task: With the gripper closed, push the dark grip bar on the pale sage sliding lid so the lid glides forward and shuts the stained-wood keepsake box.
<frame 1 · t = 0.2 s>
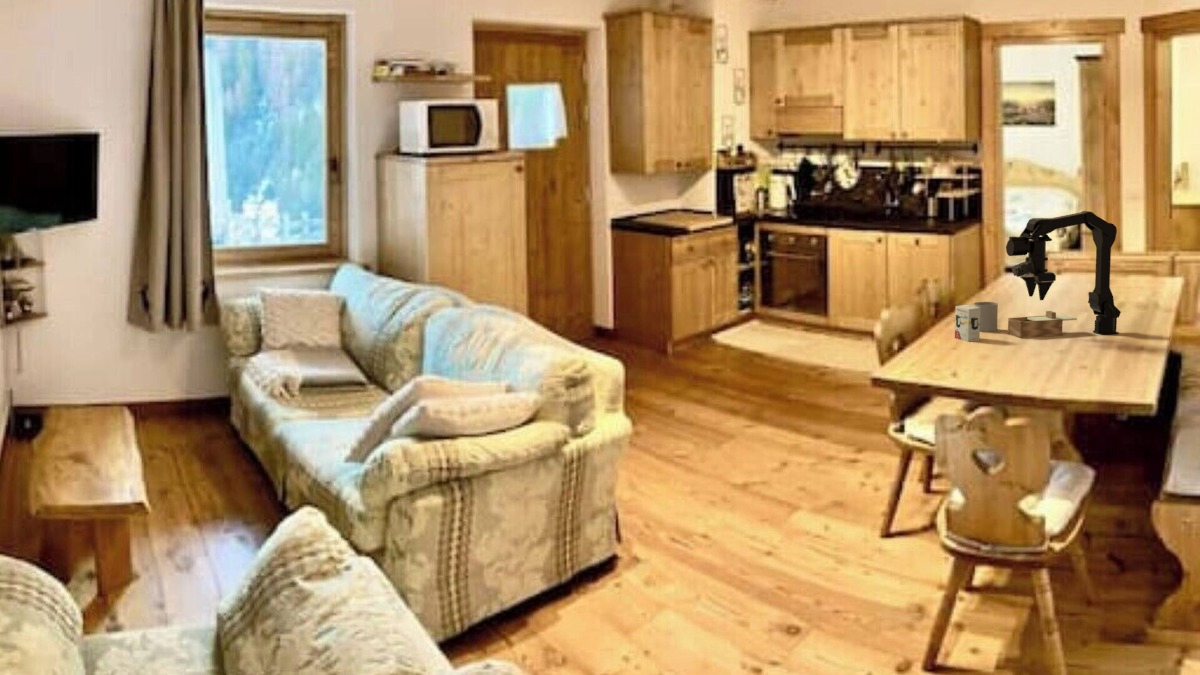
hand: (1036, 298, 426), 14 cm above the table, fingers open, 9 cm apart
ink box: (966, 339, 431), on the table
lid: (1051, 315, 434), point 7 cm above the table, slide at 6.0 cm
cup: (985, 330, 446), on the table
keepsake box: (1034, 334, 434), on the table
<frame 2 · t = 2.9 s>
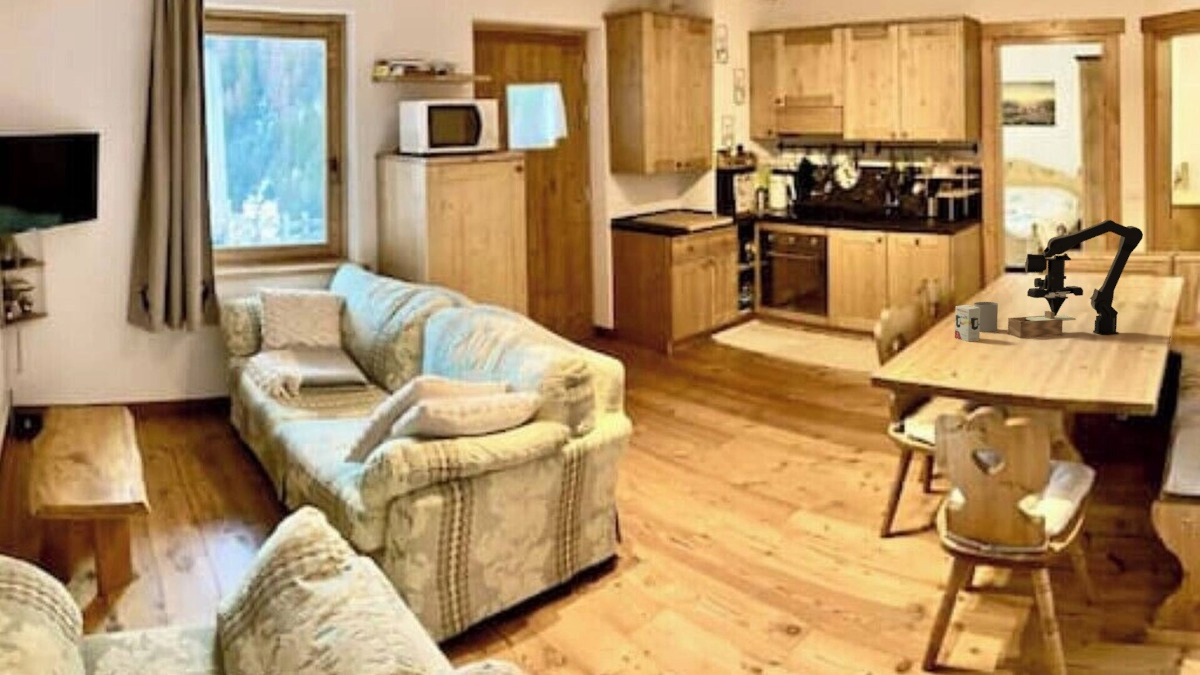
hand: (1054, 315, 434), 6 cm above the table, fingers closed
lid: (1050, 315, 434), point 7 cm above the table, slide at 5.5 cm, touching gripper
everything else where it was.
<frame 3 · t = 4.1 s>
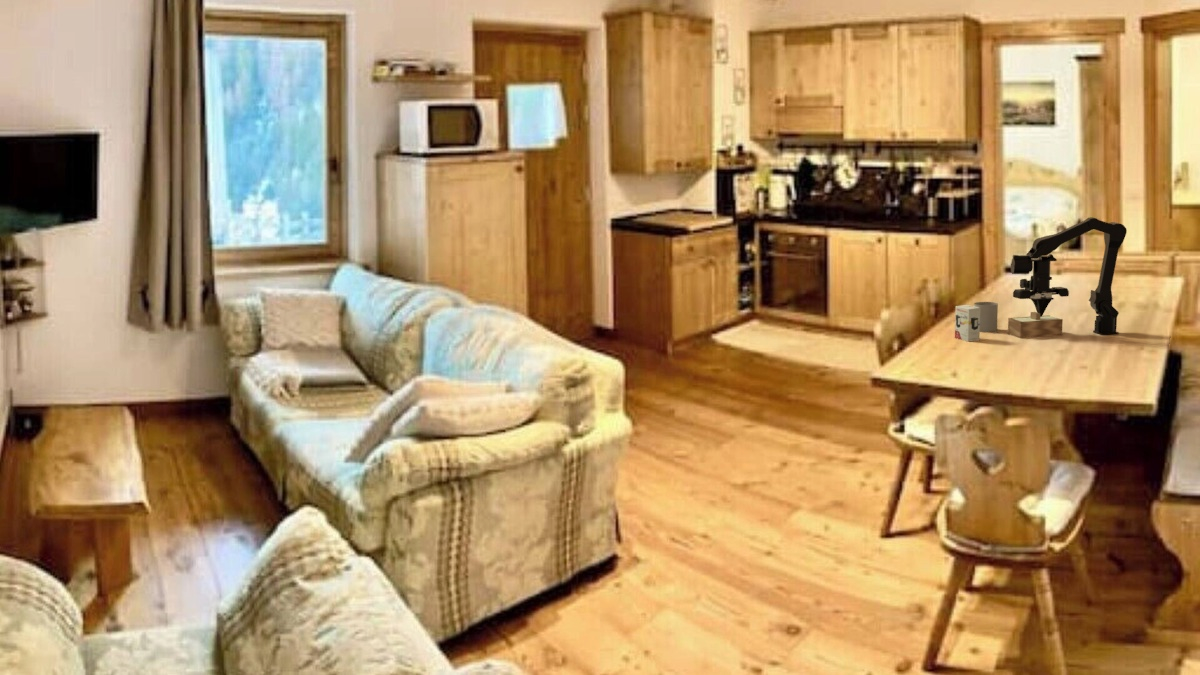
hand: (1040, 316, 434), 6 cm above the table, fingers closed
lid: (1036, 316, 433), point 7 cm above the table, slide at 0.0 cm, touching gripper
everything else where it was.
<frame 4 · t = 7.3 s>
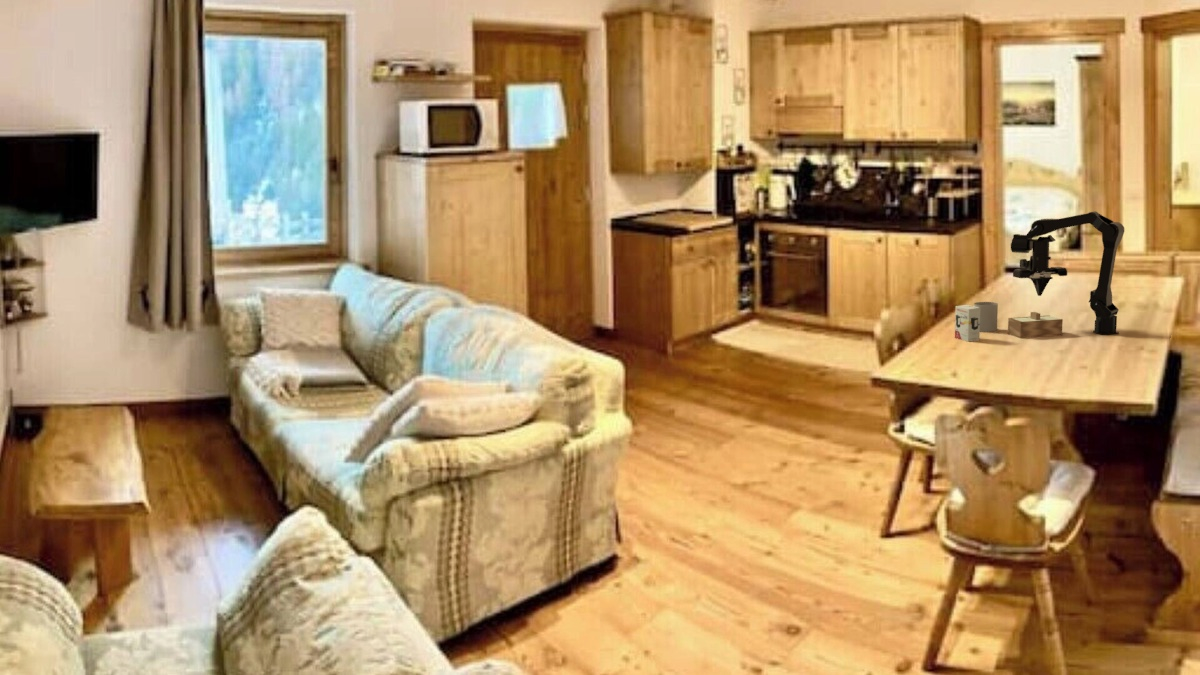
hand: (1039, 295, 445), 12 cm above the table, fingers closed
lid: (1036, 316, 433), point 7 cm above the table, slide at 0.0 cm
everything else where it was.
at the end: lid slide at 0.0 cm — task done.
